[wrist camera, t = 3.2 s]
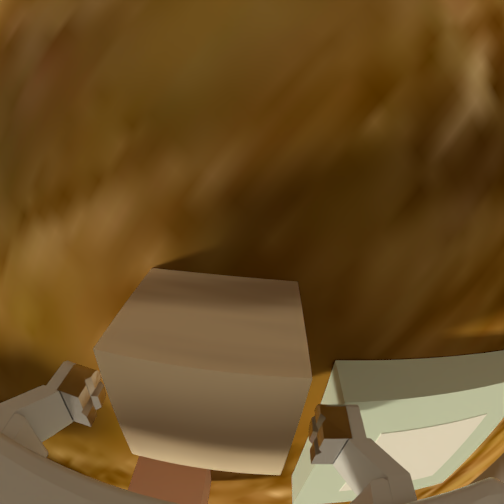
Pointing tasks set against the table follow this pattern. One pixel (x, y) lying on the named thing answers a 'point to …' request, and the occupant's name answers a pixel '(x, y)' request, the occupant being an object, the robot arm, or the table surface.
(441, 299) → the table surface
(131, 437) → the beech block
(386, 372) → the sage base
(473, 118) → the table surface
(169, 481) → the terracotta block
